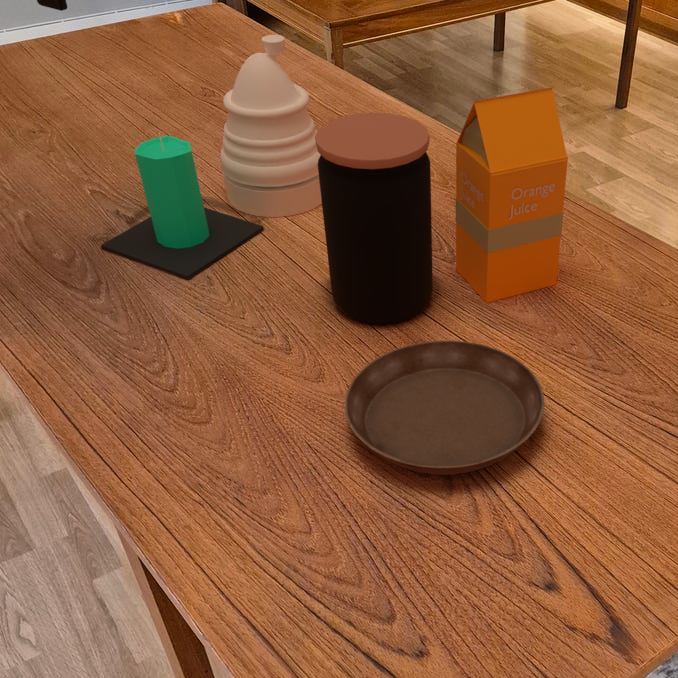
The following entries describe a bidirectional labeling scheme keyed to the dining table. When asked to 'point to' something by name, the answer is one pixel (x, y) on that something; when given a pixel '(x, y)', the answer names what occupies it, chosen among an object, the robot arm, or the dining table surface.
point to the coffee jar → (377, 215)
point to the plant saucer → (444, 406)
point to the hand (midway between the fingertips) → (11, 21)
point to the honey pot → (269, 140)
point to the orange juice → (510, 194)
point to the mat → (183, 261)
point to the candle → (172, 191)
